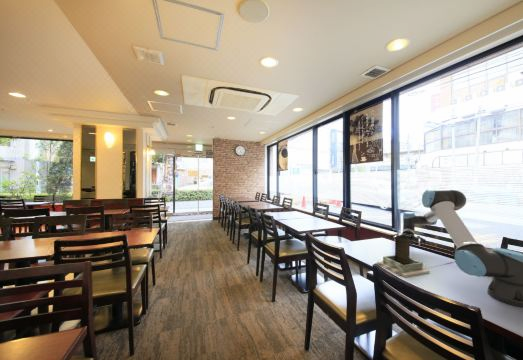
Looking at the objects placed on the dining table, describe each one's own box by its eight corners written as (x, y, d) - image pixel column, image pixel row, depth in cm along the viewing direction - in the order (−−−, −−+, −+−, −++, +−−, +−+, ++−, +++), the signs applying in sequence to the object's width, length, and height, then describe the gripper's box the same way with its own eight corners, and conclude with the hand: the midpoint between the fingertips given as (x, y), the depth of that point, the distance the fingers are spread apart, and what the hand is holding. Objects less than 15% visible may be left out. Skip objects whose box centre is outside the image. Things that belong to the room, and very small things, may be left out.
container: (413, 269, 131) (413, 240, 130) (397, 268, 132) (397, 239, 132) (406, 263, 139) (406, 236, 139) (391, 262, 141) (391, 235, 141)
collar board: (429, 272, 129) (429, 264, 129) (404, 277, 123) (404, 268, 123) (399, 260, 148) (400, 252, 148) (377, 263, 143) (377, 255, 143)
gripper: (429, 242, 152) (430, 250, 135) (389, 236, 167) (385, 243, 150) (429, 232, 152) (430, 239, 135) (389, 227, 167) (385, 232, 150)
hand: (406, 241), depth 143 cm, fingers open, 13 cm apart
